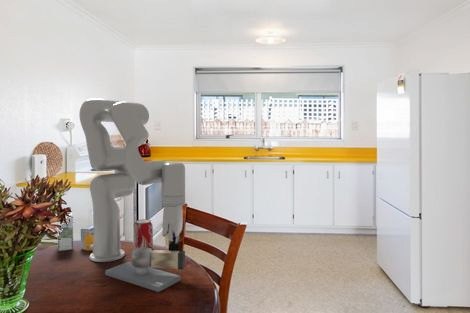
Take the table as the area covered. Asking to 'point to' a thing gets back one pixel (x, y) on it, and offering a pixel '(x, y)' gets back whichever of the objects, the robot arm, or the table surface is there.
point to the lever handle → (158, 258)
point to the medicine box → (86, 231)
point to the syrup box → (66, 236)
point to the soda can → (143, 234)
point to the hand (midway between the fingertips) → (173, 254)
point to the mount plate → (143, 276)
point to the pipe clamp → (88, 241)
